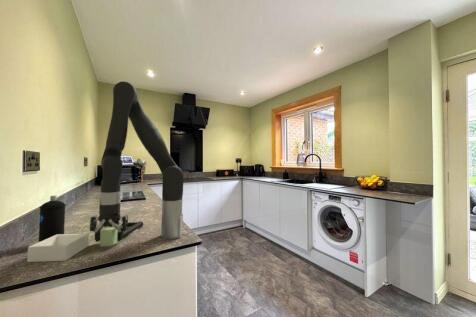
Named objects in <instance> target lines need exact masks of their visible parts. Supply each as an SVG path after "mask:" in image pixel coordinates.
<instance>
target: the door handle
mask: <svg viewBox="0 0 476 317" xmlns="http://www.w3.org/2000/svg"><path fill="white" fill-rule="evenodd" d="M121 226H122V223H121ZM143 226H144V222H143V221H141V220H140V221H138V222H137V221H133V222H129V221H128V229H126V230H125V231H123V238H122V239H124V238H127V236H131V235H132V234H134V233H135V232H137V231H138V230H139V229H140V228H142V227H143ZM117 238H118V232H117ZM122 239H121V240H122Z"/></svg>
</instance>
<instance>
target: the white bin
mask: <svg viewBox="0 0 476 317" xmlns="http://www.w3.org/2000/svg"><path fill="white" fill-rule="evenodd" d="M88 247H89V233H75V234H74V233H69V234H68V233H66V234H65V233H64V234H57V235H54V236H52V237H50V238H48V239H45V240H43V241H41V242H39V241H38V242H36V243H34V244H32V245H29V246H28V247H27V257H26V258H27V260H26V262H27V263H31V262H32V263H33V262H34V263H35V262H36V263H37V262H61V261H62V262H65V261H67V260H68V259H70V258H72V257H73V256H75V255H76V254H78V253H79V252H81V251H83V250H84V249H86V248H88Z"/></svg>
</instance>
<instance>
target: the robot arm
mask: <svg viewBox="0 0 476 317" xmlns="http://www.w3.org/2000/svg"><path fill="white" fill-rule="evenodd" d="M112 96H113V97H112V99H113V100H112V102H113V103H112V113H111V118H110V124H109V127H108V131H107V136H106V142H105V148H104V150H103V151H104V152H103V153H102V157H101V162H100V166H101V168H102V179H101V182H100V194H99V201H98V202H99V204H98V207H99V208H98V209H99V210H98V214H99V216H98V215H93V216H90V222H89V231H90V232H93V233H94V241H95V242H100V232H101V231H102V229H103V228H115V229H117V231H118V238H117V242H120V241H121V240H122V238H123V231H125V230H126V229H128V223H129V216H128V215H127V214H126V215H121V199H122V197H121V179H122V173H123V161H122V159H121V158H122V153H123V151H124V149H125V147H126V141H127V136H128V128H129V120H130V122H131V126H132V127H133V130H134V131H135V134H136V135H137V137H138V139H139V141H140V142H141V144H142V146H143V147H144V149H145V150H146V151H147V153H148V154H149V155H150V156H151V157H152V159H153V160H154V161H155V162H156V164H157V167H158V168H159V170H160V173H161V175H162V183H161V184H162V186H161V187H162V189H161V190H162V192H161V193H162V194H161V226H160V227H161V228H160V231H161V232H160V233H161V234H160V237H161V238H162V239H164V240H172V239H173V240H174V239H178V238H179V239H180V238H181V237H182V235H183V231H184V230H183V228H184V227H183V226H184V225H183V224H184V214H183V195H184V172H183V170H182V169H181V168H180V167H179V166H178V165H177V164H176V162H175V161H174V159H173V158H172V156H171V154H170V153H169V150H168V147H167V144H166V142H165V140H164V138H163V136H162V135H161V132H160V130H159V129H158V128H157V126H156V124H155V123H154V122H153V121H152V119H151V118H150V117H149V116H148V115H147V114H146V112H145V111H144V109H143V106H142V105H141V103H140V100H139V97H138V92H137V90H136V88H135V87H134V85H133V84H132V83H130V82H128V81H119V82H117V83H116V84H115V85H114V86H113V88H112ZM98 221H99V224H98ZM120 221H121V222H120ZM121 224H122V226H121ZM123 239H124V238H123Z"/></svg>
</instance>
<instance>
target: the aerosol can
mask: <svg viewBox="0 0 476 317" xmlns="http://www.w3.org/2000/svg"><path fill="white" fill-rule="evenodd" d="M57 199H58V197H57V195H50V198H49V201H47V202H44V203H43V204H41V206H39V207H38V208H39V221H38V222H39V223H38V224H39V225H38V227H39V228H38V242H41V241H43V240H45V239H48V238H50V237H52V236H54V235H57V234H65V224H66V223H65V218H66V216H65V215H66V206H67V204H66V203H65V202H63V201H60V200H57Z"/></svg>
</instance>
